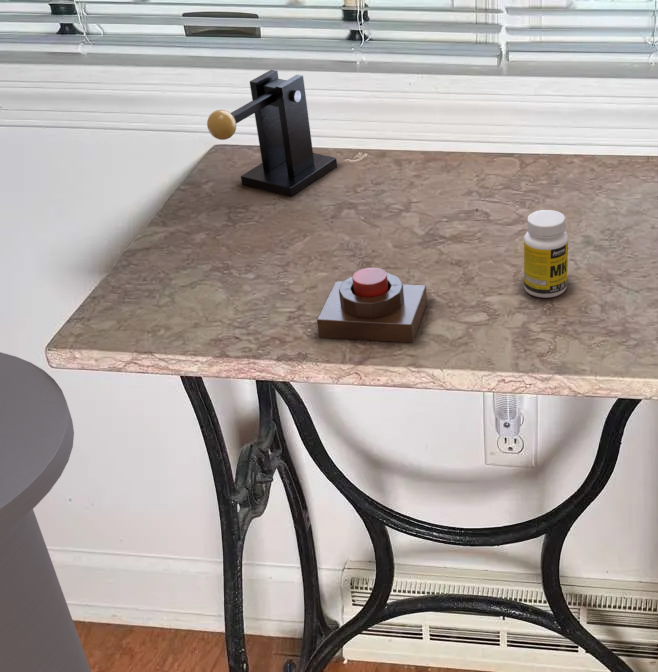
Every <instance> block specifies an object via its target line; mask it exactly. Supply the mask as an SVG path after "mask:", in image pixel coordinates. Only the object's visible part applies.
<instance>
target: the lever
mask: <svg viewBox="0 0 658 672" xmlns="http://www.w3.org/2000/svg"><path fill="white" fill-rule="evenodd" d="M286 80H287V79H282V78H279V77H278V78H277V79H275V80H273V81H271V82H269V83H268V84H266V85H264V86H263V87H264V95H262V96H260V97H258V98H256V99H255V100H251V101H249V102H247V103H245V104H244V105H242V106H240V107H238V108H236V109H235V110H232V111H231V112H229V111H227V110H226V109H217V110H215V111H213V112H211V113H210V115H208V117H207V121H206V127H207V131H208V132H209V134H210V135H211V137H213V138H215V139H216V140H221V141H224V140H225V141H226V140H228V139H231V138H232V137H233V136H234V135H235V133H236V130H237V124H238V123H240V122H241V121H243V120H245V119H247V118H248V117H251V116H252V115H255V113H256V112H257V111H259V110H261V109H263V108H264V107H266V106H268V105H271V106H276V107H278V102H277V95H276V88H275V87H276V86H277V85H279V84H281V83H283V82H284V81H286Z"/></svg>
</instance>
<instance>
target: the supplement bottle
mask: <svg viewBox="0 0 658 672" xmlns="http://www.w3.org/2000/svg"><path fill="white" fill-rule="evenodd" d="M526 220H527V222H526V223H527V224H526V227H527V229H526V230H527V232H526V233H525V234H524V236H523V287H524V290H525V292H526V293H528V294H529V295H531V296H533V297H536V298H543V299H549V298H555V297H558V296H560V295H562V294H563V293H564V292H565V291H566V289H567V287H568V264H569V263H568V262H569V257H568V256H569V236H568V234H567V231H566V217H565V215H564V214H563V213H562V212H560V211H558V210H553V209H540V210H535V211H533V212H531V213H530V214H529V215H528V216H527V219H526Z"/></svg>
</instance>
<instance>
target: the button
mask: <svg viewBox="0 0 658 672" xmlns="http://www.w3.org/2000/svg"><path fill="white" fill-rule="evenodd" d="M387 273H388V272H386V271H385V269H382V268H380V267H365V268H361V269H359V270H356V271H355V272H354V273H353V274H352V276H353V277H352V276H351V277H352V279H353V288H354V293H355V295H357V296H359V297H366V298H372V297H377V296H381V295H383V294H385V293H387V292H388V279H387Z"/></svg>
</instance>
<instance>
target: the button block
mask: <svg viewBox="0 0 658 672" xmlns="http://www.w3.org/2000/svg"><path fill="white" fill-rule="evenodd" d="M386 273H387V279H388V292H387V293H385V294H383V295H381V296H377V297H372V298H366V297H359V296H357V295H355V293H354V288H353V279H352V277H353V275H352V276H350V277H348V278H347V279H345V280H343V281H342V280H341V281H340V280H336V281H335V282H334V284H333V285H332V288H331V290H330V292H329V294H328V296H327V298H326V300H325V302H324V305H323V307H322V308H321V310H320V312H319V314H318V316H317V318H316V324H317V329H318V330H317V331H318V337H319V338H323V339H341V340H359V341H375V342H377V341H378V342H392V343H393V342H395V343H414V341H415V337H416V335H417V332H418V329H419V326H420V324H421V321H422V318H423V315H424V312H425V310H426V307H427V304H428V295H427V285H424V284H423V285H422V284H404V283H402V281H401V280H400V278H399V276H397V275H394V274H392V273H389V272H386Z"/></svg>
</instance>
